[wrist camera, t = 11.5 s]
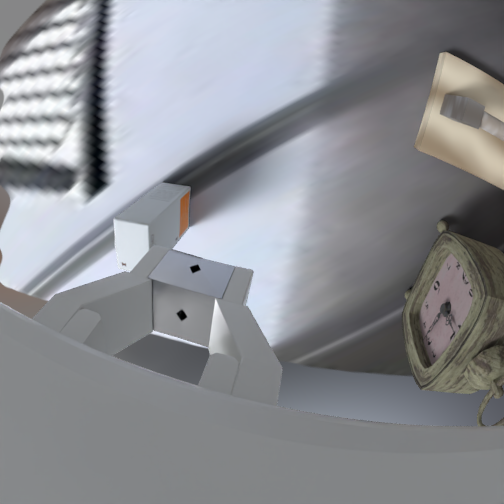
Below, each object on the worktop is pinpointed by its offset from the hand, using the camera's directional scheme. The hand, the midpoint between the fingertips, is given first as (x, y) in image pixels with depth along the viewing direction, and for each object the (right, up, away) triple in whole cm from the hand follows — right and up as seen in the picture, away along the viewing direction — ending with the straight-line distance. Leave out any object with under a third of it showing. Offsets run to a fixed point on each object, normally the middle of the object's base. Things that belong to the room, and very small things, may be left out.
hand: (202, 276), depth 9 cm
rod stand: (+33, +14, +19) cm, 41 cm away
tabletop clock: (+27, -1, +29) cm, 39 cm away
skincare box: (-8, +7, +31) cm, 33 cm away
